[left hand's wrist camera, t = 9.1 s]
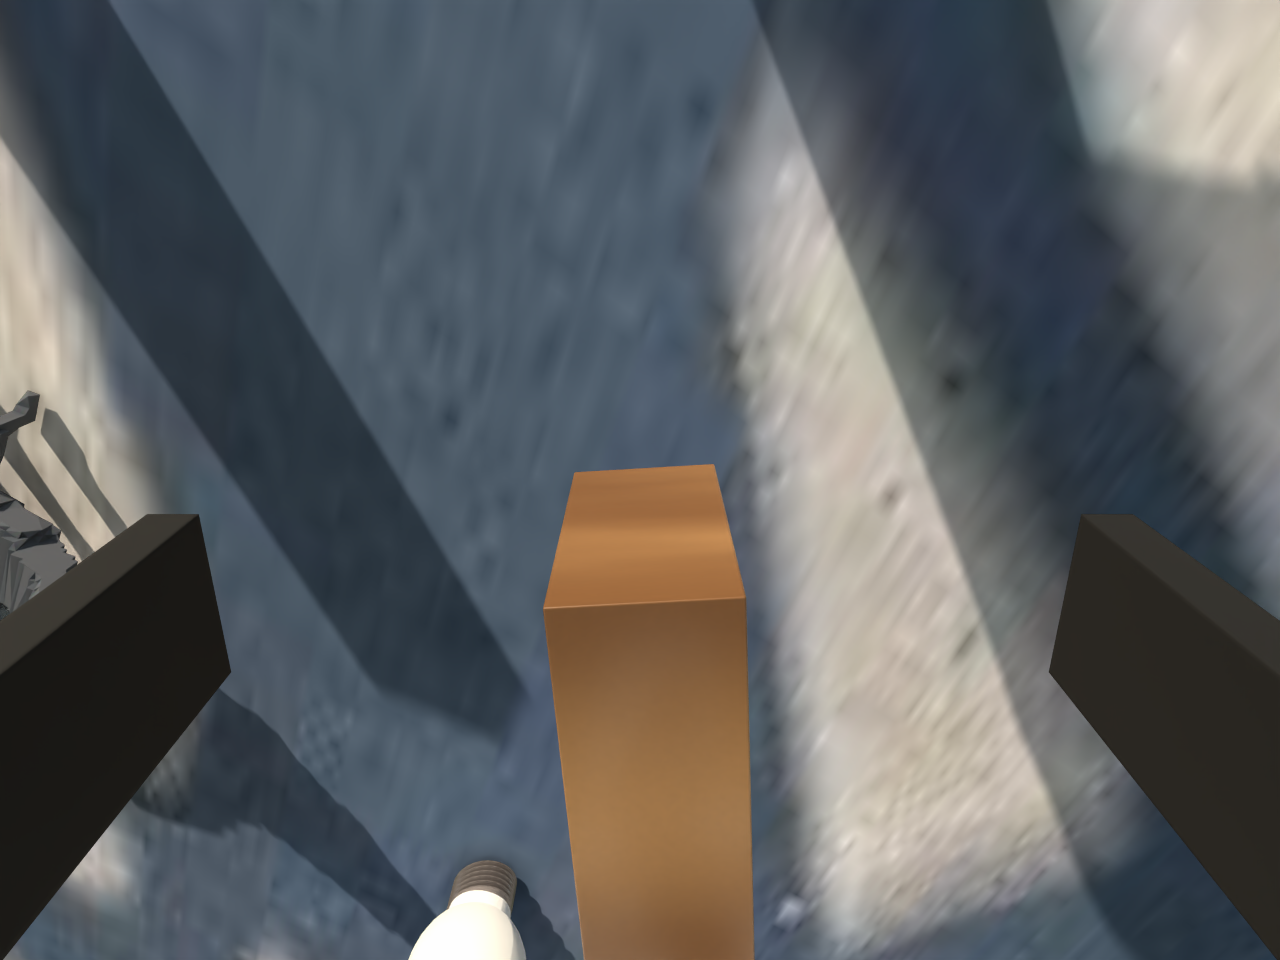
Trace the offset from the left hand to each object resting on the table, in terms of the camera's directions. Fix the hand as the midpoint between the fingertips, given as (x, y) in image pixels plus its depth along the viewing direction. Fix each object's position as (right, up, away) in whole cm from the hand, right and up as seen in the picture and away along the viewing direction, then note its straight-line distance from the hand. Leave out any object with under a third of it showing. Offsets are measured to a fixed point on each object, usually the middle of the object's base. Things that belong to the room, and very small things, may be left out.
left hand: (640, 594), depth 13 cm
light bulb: (-10, -24, +40) cm, 48 cm away
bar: (+1, -8, +19) cm, 21 cm away
